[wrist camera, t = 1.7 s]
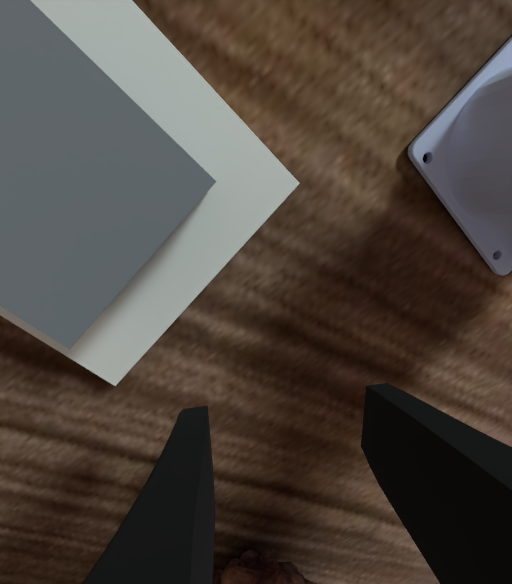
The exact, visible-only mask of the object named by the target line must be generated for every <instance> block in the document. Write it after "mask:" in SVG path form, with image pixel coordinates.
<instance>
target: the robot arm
mask: <svg viewBox="0 0 512 584" xmlns="http://www.w3.org/2000/svg"><path fill="white" fill-rule="evenodd" d="M424 154H426V155H427V161H426V163H424V162H423V156H424ZM408 157H409V159H410V160H411V161H412V163H413V164H414V166H415V167H416V168H417V170H418V171H419V172H420V174H421V175H422V176H423V178H424V179H425V180H426V182H427V183H428V184H429V186H430V187H431V189H432V190H433V191H434V193H435V194H436V195H437V197H438V198H439V199H440V201H441V202H442V203H443V205H444V206H445V207H446V209H447V210H448V212H449V213H450V214H451V216H452V217H453V218H454V220H455V221H456V222H457V224H458V225H459V226H460V228H461V229H462V230H463V232H464V233H465V234H466V236H467V237H468V239H469V240H470V241H471V243H472V244H473V245H474V247H475V248H476V249H477V251H478V252H479V253H480V255H481V256H482V257H483V259H484V260H485V262H486V263H487V264H488V266H489V267H490V268H491V270H492V271H493V272H494V273H495V274H497V275H502V276H504V275H507V274H508V273H510V272H511V271H512V37H511V38H510V39H509V40H508V41H507V42H506V43H505V44H504V45H503V46H502V47H501V48H500V49H499V50H498V51H497V53H496V54H495V55H494V56H493V57H492V58H491V59H490V60H489V61H488V62H487V63H486V64H485V65H484V66H483V67H482V68H481V70H480V71H479V72H478V73H477V74H476V75H475V76H474V77H473V78H472V79H471V80H470V81H469V82H468V83H467V84H466V85H465V86H464V88H463V89H462V90H461V91H460V92H459V93H458V94H457V95H456V96H455V97H454V98H453V99H452V100H451V101H450V102H449V103H448V105H447V106H446V107H445V108H444V109H443V110H442V111H441V112H440V113H439V114H438V115H437V116H436V117H435V118H434V119H433V120H432V122H431V123H430V124H429V125H428V126H427V127H426V128H425V129H424V130H423V131H422V132H421V133H420V134H419V135H418V136H417V137H416V138H415V140H414V141H413V142H412V143H411V144H410V146H409V148H408ZM494 253H495V255H494V257H493V254H494ZM361 448H362V450H363V452H364V454H365V456H366V458H367V461H368V463H369V465H370V467H371V469H372V471H373V473H374V475H375V477H376V479H377V481H378V484H379V485H380V487H381V489H382V490H383V492H384V494H385V495H386V497H387V499H388V500H389V502H390V503H391V505H392V507H393V508H394V510H395V512H396V513H397V515H398V516H399V518H400V520H401V521H402V523H403V524H404V526H405V528H406V529H407V531H408V533H409V534H410V536H411V537H412V539H413V541H414V542H415V544H416V545H417V547H418V549H419V550H420V552H421V553H422V555H423V557H424V558H425V560H426V561H427V563H428V565H429V566H430V568H431V569H432V571H433V573H434V574H435V576H436V577H437V579H438V581H439V582H440V584H512V447H510V446H508V445H506V444H504V443H502V442H500V441H498V440H496V439H494V438H492V437H490V436H488V435H486V434H484V433H482V432H480V431H478V430H476V429H474V428H472V427H470V426H468V425H466V424H464V423H463V422H461V421H459V420H457V419H455V418H453V417H451V416H449V415H447V414H446V413H444V412H442V411H440V410H438V409H436V408H434V407H433V406H431V405H429V404H427V403H425V402H423V401H421V400H419V399H418V398H416V397H414V396H412V395H410V394H408V393H406V392H404V391H402V390H400V389H398V388H396V387H394V386H392V385H390V384H387V383H386V384H378V385H370V386H366V396H365V407H364V418H363V429H362V440H361ZM214 532H215V499H214V479H213V463H212V452H211V440H210V429H209V417H208V406H203V407H195V408H187V409H183V410H182V411H181V412H180V413H179V415H178V418H177V421H176V423H175V426H174V428H173V430H172V433H171V435H170V437H169V439H168V441H167V443H166V445H165V447H164V449H163V452H162V454H161V455H160V457H159V459H158V461H157V463H156V465H155V467H154V469H153V471H152V472H151V474H150V476H149V478H148V480H147V482H146V484H145V485H144V487H143V489H142V491H141V492H140V494H139V496H138V497H137V499H136V501H135V502H134V504H133V506H132V507H131V509H130V511H129V512H128V514H127V516H126V517H125V519H124V521H123V522H122V524H121V526H120V527H119V529H118V530H117V532H116V534H115V535H114V537H113V538H112V540H111V541H110V543H109V544H108V546H107V548H106V549H105V551H104V552H103V554H102V555H101V557H100V558H99V560H98V561H97V563H96V564H95V565H94V567H93V568H92V570H91V571H90V573H89V574H88V576H87V577H86V579H85V580H84V581H83V583H82V584H213V559H214Z"/></svg>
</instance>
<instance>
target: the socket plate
mask: <svg viewBox="0 0 512 584" xmlns="http://www.w3.org/2000/svg"><path fill="white" fill-rule="evenodd" d="M31 1H32V2H33V3H34V4H35V5H36V6H37V7H38V8H39V9H40V10H41V11H42V12H43V13H44V14H45V15H46V16H47V17H48V18H49V19H50V20H51V21H52V22H53V23H54V24H55V25H56V26H57V27H58V28H59V29H60V30H61V31H62V32H63V33H64V34H65V35H66V36H68V37H69V38H70V39H71V40H72V41H73V42H74V43H75V44H76V45H77V46H78V47H79V48H80V49H81V50H82V51H83V52H84V53H85V54H86V55H87V56H88V57H89V58H90V59H91V60H92V61H93V62H94V63H95V64H96V65H97V66H98V67H99V68H100V69H101V70H102V71H103V72H105V73H106V74H107V75H108V76H109V77H110V78H111V79H112V80H113V81H114V82H115V83H116V84H117V85H118V86H119V87H120V88H121V89H122V90H123V91H124V92H125V93H126V94H127V95H128V96H129V97H130V98H131V99H132V100H133V101H134V102H135V103H136V104H137V105H138V106H139V107H140V108H142V109H143V110H144V111H145V112H146V113H147V114H148V115H149V116H150V117H151V118H152V119H153V120H154V121H155V122H156V123H157V124H158V125H159V126H160V127H161V128H162V129H163V130H164V131H165V132H166V133H167V134H168V135H169V136H170V137H171V138H172V139H173V140H174V141H175V142H176V143H177V144H179V145H180V146H181V147H182V148H183V149H184V150H185V151H186V152H187V153H188V154H189V155H190V156H191V157H192V158H193V159H194V160H195V161H196V162H197V163H198V164H199V165H200V166H201V167H202V168H203V169H204V170H205V171H206V172H207V173H208V174H209V175H210V176H211V177H212V178H213V179H214V180H216V183H215V184H214V185H213V186H212V187H211V188H210V190H209V191H208V192H207V193H206V194H205V195H204V196H203V198H202V199H201V200H200V201H199V202H198V203H197V204H196V206H195V207H194V208H193V209H192V210H191V211H190V212H189V214H188V215H187V216H186V217H185V218H184V219H183V220H182V222H181V223H180V224H179V225H178V226H177V227H176V229H175V230H174V231H173V232H172V233H171V234H170V235H169V237H168V238H167V239H166V240H165V241H164V242H163V243H162V245H161V246H160V247H159V248H158V249H157V250H156V251H155V253H154V254H153V255H152V256H151V257H150V258H149V259H148V261H147V262H146V263H145V264H144V265H143V266H142V268H141V269H140V270H139V271H138V272H137V273H136V274H135V276H134V277H133V278H132V279H131V280H130V281H129V282H128V284H127V285H126V286H125V287H124V288H123V289H122V290H121V292H120V293H119V294H118V295H117V296H116V297H115V298H114V300H113V301H112V302H111V303H110V304H109V305H108V307H107V308H106V309H105V310H104V311H103V312H102V313H101V315H100V316H99V317H98V318H97V319H96V320H95V321H94V323H93V324H92V325H91V326H90V327H89V328H88V329H87V331H86V332H85V333H84V334H83V335H82V336H81V338H80V339H79V340H78V341H77V342H76V343H75V344H74V346H73V347H72V348H71V349H68V348H66V347H65V346H63V345H62V344H60V343H58V342H57V341H55V340H54V339H52V338H50V337H49V336H47V335H46V334H44V333H42V332H41V331H39V330H38V329H36V328H34V327H33V326H31V325H30V324H28V323H26V322H25V321H23V320H22V319H20V318H18V317H17V316H15V315H14V314H12V313H10V312H9V311H7V310H6V309H4V308H2V307H1V306H0V316H2V317H4V318H5V319H7V320H8V321H10V322H12V323H13V324H15V325H17V326H18V327H20V328H21V329H23V330H25V331H26V332H28V333H30V334H31V335H33V336H34V337H36V338H38V339H39V340H41V341H43V342H44V343H46V344H47V345H49V346H51V347H52V348H54V349H56V350H57V351H59V352H60V353H62V354H64V355H65V356H67V357H69V358H70V359H72V360H73V361H75V362H77V363H78V364H80V365H82V366H83V367H85V368H86V369H88V370H90V371H91V372H93V373H95V374H96V375H98V376H99V377H101V378H103V379H104V380H106V381H108V382H109V383H111V384H112V385H114V386H116V385H117V384H118V383H119V381H120V380H121V379H122V378H123V377H124V376H125V375H126V374H127V373H128V372H129V370H130V369H131V368H132V367H133V366H134V365H135V364H136V363H137V362H138V361H139V359H140V358H141V357H142V356H143V355H144V354H145V353H146V352H147V351H148V350H149V348H150V347H151V346H152V345H153V344H154V343H155V342H156V341H157V340H158V339H159V337H160V336H161V335H162V334H163V333H164V332H165V331H166V330H167V329H168V328H169V326H170V325H171V324H172V323H173V322H174V321H175V320H176V319H177V318H178V317H179V315H180V314H181V313H182V312H183V311H184V310H185V309H186V308H187V307H188V306H189V304H190V303H191V302H192V301H193V300H194V299H195V298H196V297H197V296H198V295H199V293H200V292H201V291H202V290H203V289H204V288H205V287H206V286H207V285H208V284H209V282H210V281H211V280H212V279H213V278H214V277H215V276H216V275H217V274H218V273H219V271H220V270H221V269H222V268H223V267H224V266H225V265H226V264H227V263H228V262H229V260H230V259H231V258H232V257H233V256H234V255H235V254H236V253H237V252H238V251H239V249H240V248H241V247H242V246H243V245H244V244H245V243H246V242H247V241H248V240H249V238H250V237H251V236H252V235H253V234H254V233H255V232H256V231H257V230H258V229H259V227H260V226H261V225H262V224H263V223H264V222H265V221H266V220H267V219H268V218H269V216H270V215H271V214H272V213H273V212H274V211H275V210H276V209H277V208H278V207H279V205H280V204H281V203H282V202H283V201H284V200H285V199H286V198H287V197H288V196H289V194H290V193H291V192H292V191H293V190H294V189H295V188H296V187H297V186H298V185H299V182H298V181H297V180H296V179H295V178H294V177H293V176H292V175H291V173H290V172H289V171H288V170H287V169H286V168H285V167H284V166H283V165H282V164H281V163H280V161H279V160H278V159H277V158H276V157H275V156H274V155H273V154H272V153H271V152H270V151H269V149H268V148H267V147H266V146H265V145H264V144H263V143H262V142H261V141H260V140H259V139H258V137H257V136H256V135H255V134H254V133H253V132H252V131H251V130H250V129H249V128H248V127H247V125H246V124H245V123H244V122H243V121H242V120H241V119H240V118H239V117H238V116H237V115H236V113H235V112H234V111H233V110H232V109H231V108H230V107H229V106H228V105H227V104H226V103H225V101H224V100H223V99H222V98H221V97H220V96H219V95H218V94H217V93H216V92H215V91H214V89H213V88H212V87H211V86H210V85H209V84H208V83H207V82H206V81H205V80H204V79H203V77H202V76H201V75H200V74H199V73H198V72H197V71H196V70H195V69H194V68H193V67H192V65H191V64H190V63H189V62H188V61H187V60H186V59H185V58H184V57H183V56H182V55H181V53H180V52H179V51H178V50H177V49H176V48H175V47H174V46H173V45H172V44H171V43H170V41H169V40H168V39H167V38H166V37H165V36H164V35H163V34H162V33H161V32H160V30H159V29H158V28H157V27H156V26H155V25H154V24H153V23H152V22H151V21H150V20H149V18H148V17H147V16H146V15H145V14H144V13H143V12H142V11H141V10H140V9H139V8H138V6H137V5H136V4H135V3H134V2H133V1H132V0H31Z"/></svg>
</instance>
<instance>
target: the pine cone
mask: <svg viewBox="0 0 512 584" xmlns="http://www.w3.org/2000/svg"><path fill="white" fill-rule="evenodd" d="M213 584H317V583H315V582H311V581H309V580H307V579H305V578H304V576H303V575H302V574H301V573H300V572H298V569H297V567H296V566H295V565H294V564H293V563H292V562H277V560H276V559H275V557H274V556H273V554H272V553H271V551H270V550H269V548H262V549H261V556H260V555H259V554H258V553H257V552H256V551H255V550H247V551H246V552H245V553H243V554H242V556H241V558H240V559H238V558H237V559H231V560H230V562H229V563H228V564H227V565H226V567H225V569H224V570H220V571H218V572H217V573H216V574H215V575H214V577H213Z"/></svg>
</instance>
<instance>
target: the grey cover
mask: <svg viewBox="0 0 512 584" xmlns="http://www.w3.org/2000/svg"><path fill="white" fill-rule="evenodd" d="M215 183H216V180H214V179H213V178H212V177H211V176H210V175H209V174H208V173H207V172H206V171H205V170H204V169H203V168H202V167H201V166H200V165H199V164H198V163H197V162H196V161H195V160H194V159H193V158H192V157H191V156H190V155H189V154H188V153H187V152H186V151H185V150H184V149H183V148H182V147H181V146H180V145H179V144H177V143H176V142H175V141H174V140H173V139H172V138H171V137H170V136H169V135H168V134H167V133H166V132H165V131H164V130H163V129H162V128H161V127H160V126H159V125H158V124H157V123H156V122H155V121H154V120H153V119H152V118H151V117H150V116H149V115H148V114H147V113H146V112H145V111H144V110H143V109H142V108H140V107H139V106H138V105H137V104H136V103H135V102H134V101H133V100H132V99H131V98H130V97H129V96H128V95H127V94H126V93H125V92H124V91H123V90H122V89H121V88H120V87H119V86H118V85H117V84H116V83H115V82H114V81H113V80H112V79H111V78H110V77H109V76H108V75H107V74H106V73H105V72H103V71H102V70H101V69H100V68H99V67H98V66H97V65H96V64H95V63H94V62H93V61H92V60H91V59H90V58H89V57H88V56H87V55H86V54H85V53H84V52H83V51H82V50H81V49H80V48H79V47H78V46H77V45H76V44H75V43H74V42H73V41H72V40H71V39H70V38H69V37H68V36H66V35H65V34H64V33H63V32H62V31H61V30H60V29H59V28H58V27H57V26H56V25H55V24H54V23H53V22H52V21H51V20H50V19H49V18H48V17H47V16H46V15H45V14H44V13H43V12H42V11H41V10H40V9H39V8H38V7H37V6H36V5H35V4H34V3H33V2H32V1H31V0H0V306H1V307H2V308H4V309H6V310H7V311H9V312H10V313H12V314H14V315H15V316H17V317H18V318H20V319H22V320H23V321H25V322H26V323H28V324H30V325H31V326H33V327H34V328H36V329H38V330H39V331H41V332H42V333H44V334H46V335H47V336H49V337H50V338H52V339H54V340H55V341H57V342H58V343H60V344H62V345H63V346H65V347H66V348H68V349H71V348H72V347H73V346H74V344H75V343H76V342H77V341H78V340H79V339H80V338H81V336H82V335H83V334H84V333H85V332H86V331H87V329H88V328H89V327H90V326H91V325H92V324H93V323H94V321H95V320H96V319H97V318H98V317H99V316H100V315H101V313H102V312H103V311H104V310H105V309H106V308H107V307H108V305H109V304H110V303H111V302H112V301H113V300H114V298H115V297H116V296H117V295H118V294H119V293H120V292H121V290H122V289H123V288H124V287H125V286H126V285H127V284H128V282H129V281H130V280H131V279H132V278H133V277H134V276H135V274H136V273H137V272H138V271H139V270H140V269H141V268H142V266H143V265H144V264H145V263H146V262H147V261H148V259H149V258H150V257H151V256H152V255H153V254H154V253H155V251H156V250H157V249H158V248H159V247H160V246H161V245H162V243H163V242H164V241H165V240H166V239H167V238H168V237H169V235H170V234H171V233H172V232H173V231H174V230H175V229H176V227H177V226H178V225H179V224H180V223H181V222H182V220H183V219H184V218H185V217H186V216H187V215H188V214H189V212H190V211H191V210H192V209H193V208H194V207H195V206H196V204H197V203H198V202H199V201H200V200H201V199H202V198H203V196H204V195H205V194H206V193H207V192H208V191H209V190H210V188H211V187H212V186H213V185H214V184H215Z"/></svg>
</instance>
